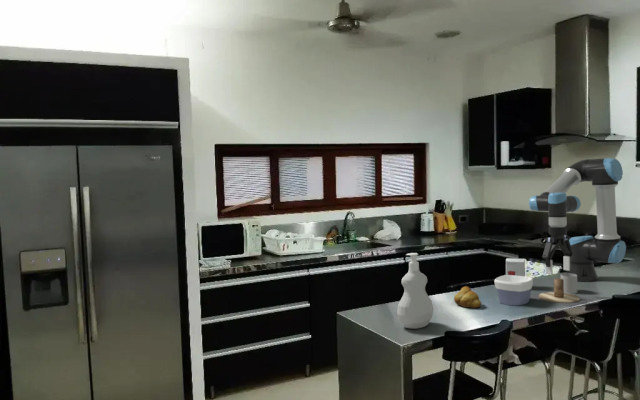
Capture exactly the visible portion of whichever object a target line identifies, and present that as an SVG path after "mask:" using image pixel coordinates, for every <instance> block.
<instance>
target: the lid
mask: <svg viewBox="0 0 640 400" xmlns="http://www.w3.org/2000/svg"><path fill="white" fill-rule="evenodd" d="M546 292H547V291H546ZM541 293H542V294H540V293H539V294H540V295H539V298H540V299H541V300H544V301H543V302H546V301H548V302H547V303H550V302H554V303H553V304H555V303H574V302H578V301H580V297H581V296H578V295H576V294H569V293H564V280H563V279H561V278H554V279H553V291H551V292H547V293H543V292H541ZM541 300H540V301H541Z"/></svg>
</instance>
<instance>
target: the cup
mask: <svg viewBox="0 0 640 400" xmlns="http://www.w3.org/2000/svg"><path fill="white" fill-rule="evenodd" d="M560 279H563V280H564V293H569V294H573V295H576V294H578V281H577V275H576V274H570V273H566V272H565V273H560Z"/></svg>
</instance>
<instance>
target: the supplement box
mask: <svg viewBox="0 0 640 400" xmlns="http://www.w3.org/2000/svg"><path fill="white" fill-rule="evenodd" d="M505 275H515V276H524V277H526V263H525V258H506V259H505Z"/></svg>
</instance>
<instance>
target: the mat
mask: <svg viewBox="0 0 640 400" xmlns="http://www.w3.org/2000/svg"><path fill="white" fill-rule="evenodd" d="M547 292H552V291H550V290H548V291H543V292H541V293H540V292H539V293H536V294H532V295H530V298H529V299H531V300H532V299H533V300H538V301H542V302H546V303H551V304H556V305H560V306H565V307H570V308H571V307H574V306H578V305H581V304H584V303H587V302H591V301H593V300H594V299H592V298H587V297H582V296H579V297H580V301H578V302H574V303H554V302H548V301H544V300H541V299H540V298H539V295H540V294H542V293H547Z"/></svg>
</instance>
